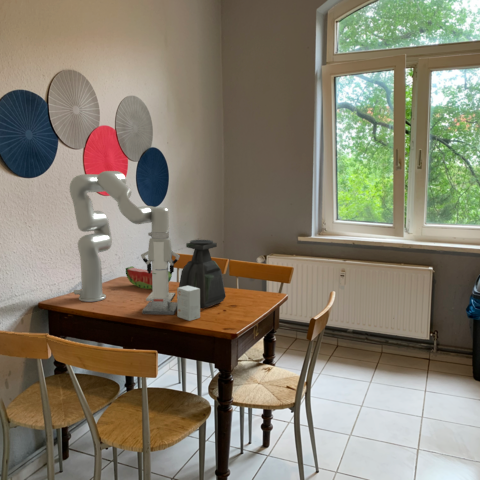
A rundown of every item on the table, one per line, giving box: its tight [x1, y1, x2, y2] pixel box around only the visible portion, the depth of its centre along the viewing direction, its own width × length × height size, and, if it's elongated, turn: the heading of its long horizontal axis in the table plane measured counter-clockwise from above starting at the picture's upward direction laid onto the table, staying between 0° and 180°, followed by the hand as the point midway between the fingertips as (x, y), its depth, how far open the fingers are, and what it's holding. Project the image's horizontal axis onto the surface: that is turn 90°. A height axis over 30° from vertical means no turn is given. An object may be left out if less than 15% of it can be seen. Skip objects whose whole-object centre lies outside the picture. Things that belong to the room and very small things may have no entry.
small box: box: [176, 286, 201, 322], centre depth 196 cm, size 8×6×13 cm
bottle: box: [178, 239, 227, 310], centre depth 215 cm, size 18×16×30 cm
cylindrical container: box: [151, 242, 170, 298], centre depth 205 cm, size 7×7×25 cm
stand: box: [141, 291, 177, 316], centre depth 207 cm, size 14×14×6 cm
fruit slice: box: [125, 266, 173, 290], centre depth 245 cm, size 26×6×10 cm, turn 65°
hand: (160, 273), depth 205 cm, fingers open, 9 cm apart
